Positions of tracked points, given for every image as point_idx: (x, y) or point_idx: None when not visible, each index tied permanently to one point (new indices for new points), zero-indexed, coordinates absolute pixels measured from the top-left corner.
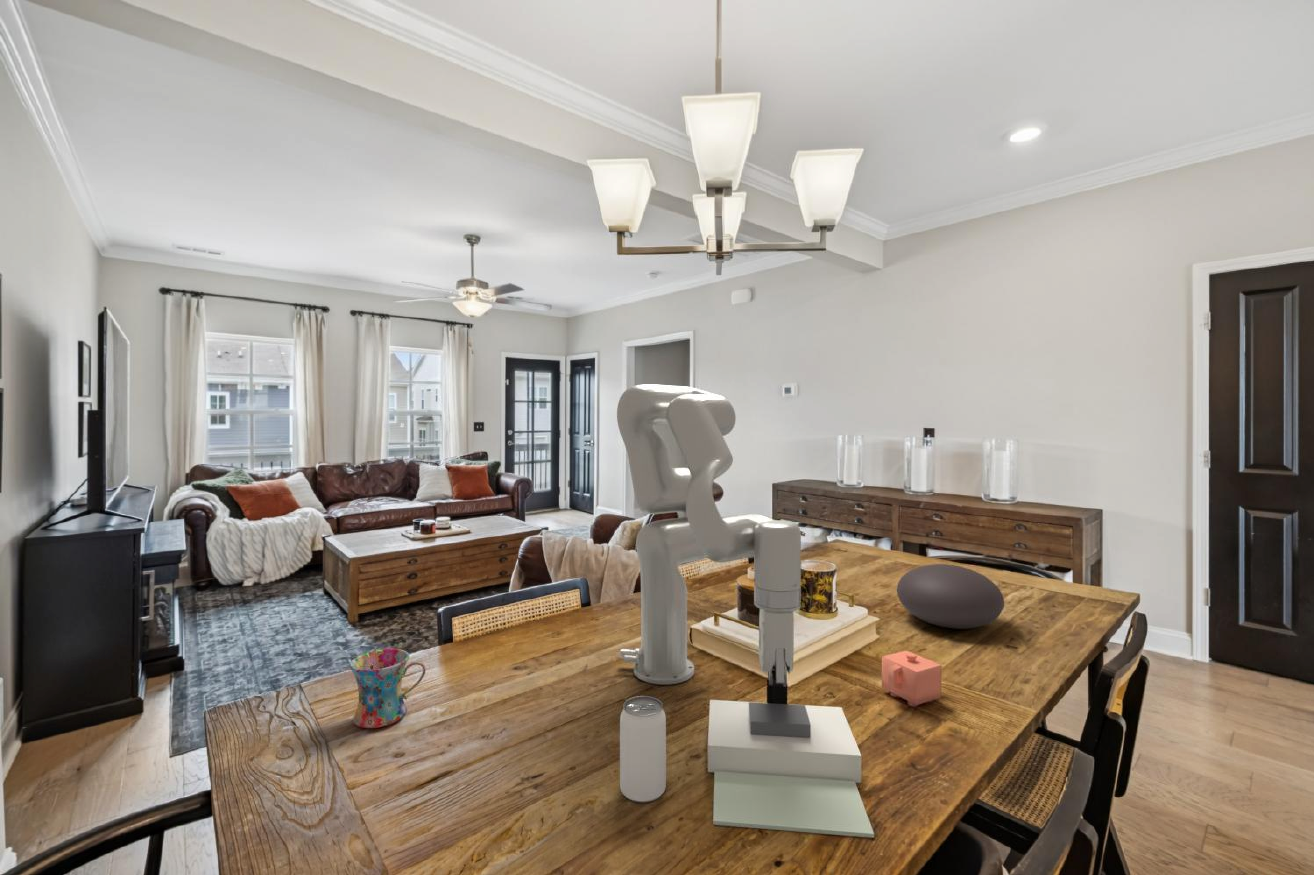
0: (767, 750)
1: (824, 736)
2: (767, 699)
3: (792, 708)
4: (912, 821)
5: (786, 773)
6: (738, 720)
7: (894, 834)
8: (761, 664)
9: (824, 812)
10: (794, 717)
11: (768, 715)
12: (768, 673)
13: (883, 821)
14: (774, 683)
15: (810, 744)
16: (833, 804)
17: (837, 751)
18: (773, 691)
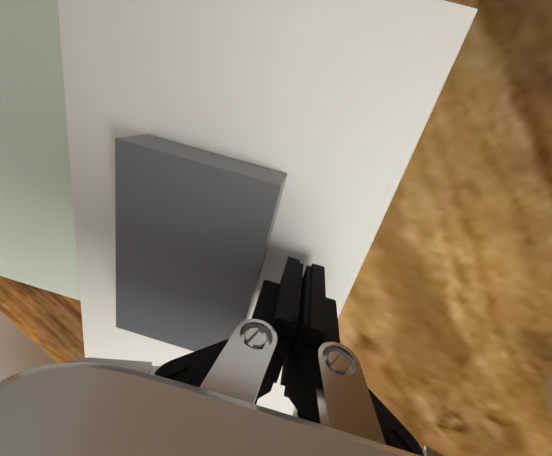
0: (72, 162)
1: None
2: (288, 270)
3: (215, 323)
4: (46, 333)
5: None
6: (248, 116)
7: (12, 298)
8: (92, 415)
9: (16, 221)
10: (155, 304)
11: (167, 228)
12: (320, 371)
13: (36, 299)
14: (211, 348)
15: (113, 287)
16: (41, 246)
17: (92, 327)
18: (254, 313)
